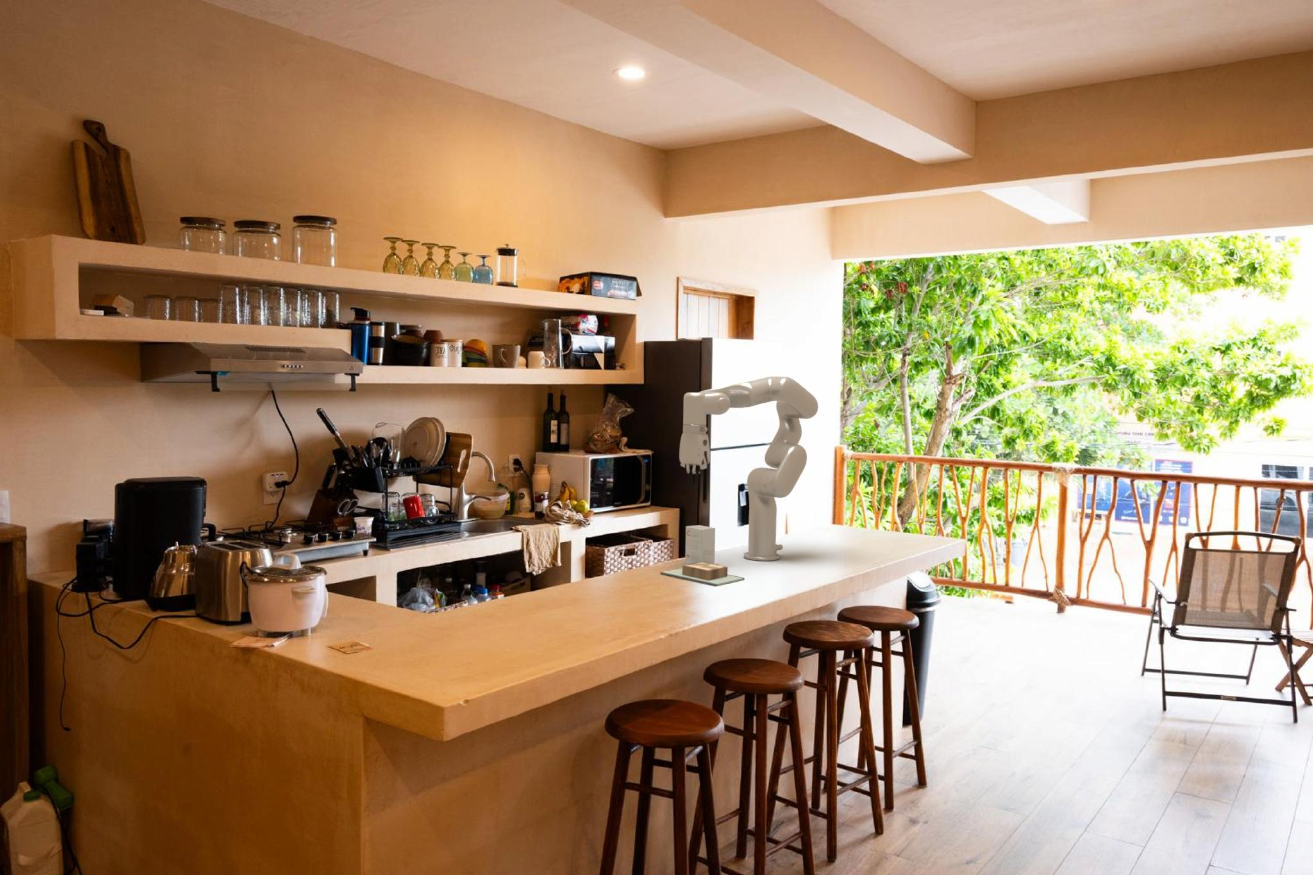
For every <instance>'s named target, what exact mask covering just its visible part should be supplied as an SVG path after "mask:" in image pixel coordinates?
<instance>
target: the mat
mask: <svg viewBox="0 0 1313 875" xmlns="http://www.w3.org/2000/svg"><path fill="white" fill-rule="evenodd" d="M659 573H660V574H659V575H662V576H668V577H671V578H677V579H679V580H685V581H690V582H694V583H699V584H703V585H708V586H712V587H719V586H723V585H727V584H732V583H736V582H741V581H745V577H742V576H738V575H732V574H728V573H727V577H723V578H718V579H713V580H709V581H708V580H704V579H699V578H695V577H690V576H685V575H682V567H681V568H677V569H671V570H665V571H660V572H659Z"/></svg>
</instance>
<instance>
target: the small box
mask: <svg viewBox="0 0 1313 875" xmlns="http://www.w3.org/2000/svg"><path fill="white" fill-rule="evenodd" d="M715 548H716V528H715V527H712V526H705V525H702V524H701V525H700V524H698V525H687V526H685V553H684V555H685V556H684V557H685V558H684V559H685V560H684V562H685V564H684V565H687V564H692V563H698V562H705V563H710V564H715V560H716V559H715V557H716V555H715V554H716V553H715V552H716V550H715ZM715 565H716V564H715Z"/></svg>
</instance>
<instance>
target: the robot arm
mask: <svg viewBox="0 0 1313 875" xmlns="http://www.w3.org/2000/svg"><path fill="white" fill-rule="evenodd" d="M771 402H776V405H775V408H776V412H777V416H778V419H779V420H778V421H779V425H778V429H777V431H776V432H775V435H774V437H773V439H772V440H771V442H770V444H769V446H768V448H767V449H766V452H765V454H764V462H765V464H766V465H767V466H768V467H757V468H754V469H752V470H751V471H750V472H749V474H748V476H747V479H746V484H747V485H746V487H747V493H748V502H749V503H748V504H749V505H748V506H749V510H748V512H749V513H748V543H747V544H748V546H747V548H748V549H747V550H748V551H746V552H744V553H743V558H745V559H747V560H750V561H751V560H753V561H761V562H762V561H763V562H765V561H766V562H768V561H769V562H770V561H777V560H779V559H780V558H781V557H780V556H781V555H780V554H779V553H777V552H778V551H781V550H783V548H784V546H783V545H782V544H777V542H776V541H777V540H776V539H777V516H778V515H777V511H778V507H777V502H776V499H775V498H778V499H783V498H786V497H788V496H790V494H791V492H792V491H793V490H794V488H795V486H796V485H797V483H798V481H799V479H800V477H801V475H802V473H803V472H804V469H805V467H806V465H807V460H808V457H807V456H808V455H807V451H806V449H805V448H804V446H802V445H800V444H799V442H800V441H801V439H802V433H803V431H802V426H801V425H802V424H801V421H800V420H801V419H802V420H807V419H809V420H810V419H812V418H814V417H815V416H816V415H817V413H818V410H819V402H818V400H817V398H816V397H815V396H814V395H813V394H812V393H811V392H810V391H809V390H807V389H806V388H805V387H803V386H802V385H801V383H799V382H797V381H796V380H795V379H793V378H791V377H789V376H767V377H763V378H758V379H753V380H750V381H747V382H741V383H736V384H735V383H734V384H731V385H725V386H720V387H714V388H710V389H709V388H708V389H705V390H701V391H699V392H686V393H684V395H683V412H682V413H683V415H682V416H683V420H682V422H683V424H682V425H683V426H682V434H681V437H680V442H679V454H678V455H679V457H678V458H679V462H680V467H683V468H685V469H686V473H687V474H688V476H687V477H688V480H687V481H688V482H687V483H688V484H687V485H688V486H690V487H695V486H699V474H701V472H702V470H705V469H707V468H708V464H710V462H711V450H710V440H709V434H707V432H708V427H707V415H713V416H720V415H723V414H725V413H727V412H728V411H729V410H730V409H743V408H751V407H755V406H758V405H762V404H766V403H771ZM769 467H770V468H769Z"/></svg>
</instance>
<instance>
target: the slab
mask: <svg viewBox="0 0 1313 875" xmlns="http://www.w3.org/2000/svg"><path fill="white" fill-rule="evenodd" d="M681 568H682V575H685V576H690V577H695V578H699V579H704V580H708V581H709V580H713V579H718V578H723V577H727V574H728V572H729V571H728V568H729V567H728V566H724V565H719V564H710V563H705V562H698V563H692V564H687V565H685V564H683V565H682V566H681Z"/></svg>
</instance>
